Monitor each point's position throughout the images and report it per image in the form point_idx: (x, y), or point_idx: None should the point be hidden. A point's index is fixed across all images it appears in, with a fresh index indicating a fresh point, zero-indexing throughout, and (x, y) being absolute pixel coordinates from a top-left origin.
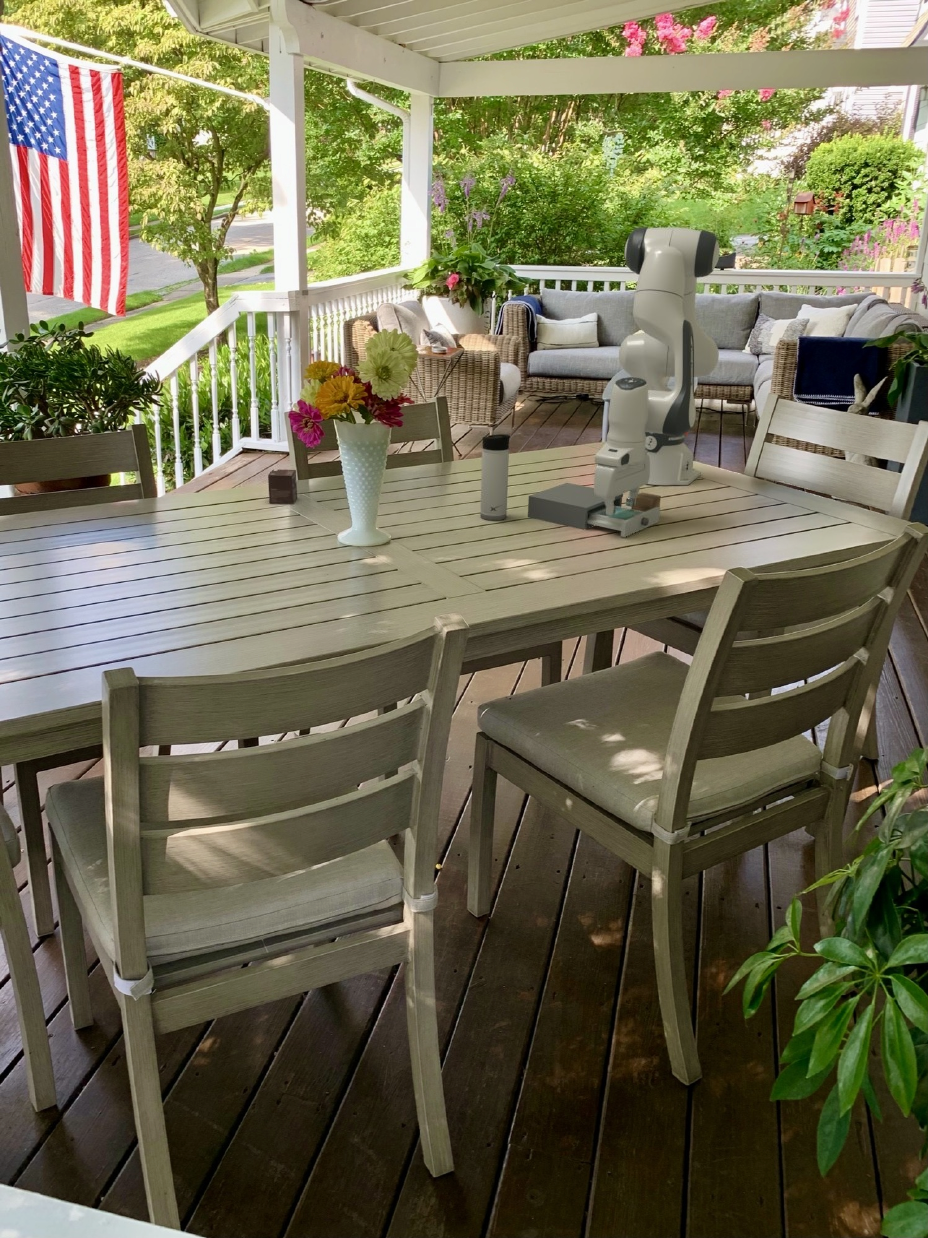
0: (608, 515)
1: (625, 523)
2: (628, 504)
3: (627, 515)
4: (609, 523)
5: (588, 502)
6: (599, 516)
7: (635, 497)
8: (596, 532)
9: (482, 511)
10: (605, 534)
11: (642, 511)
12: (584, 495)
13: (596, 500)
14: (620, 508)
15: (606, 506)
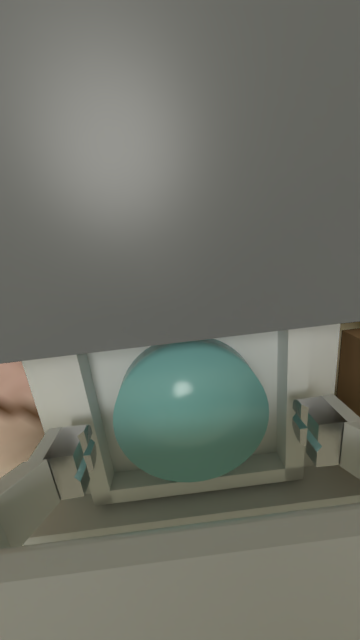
0: (121, 385)
1: None
2: (297, 416)
3: (161, 473)
4: (64, 424)
5: (26, 283)
6: (58, 370)
7: (355, 472)
8: (23, 376)
9: None
10: (35, 414)
11: (301, 455)
12: (191, 82)
13: (133, 290)
14: (237, 392)
15: (23, 467)
